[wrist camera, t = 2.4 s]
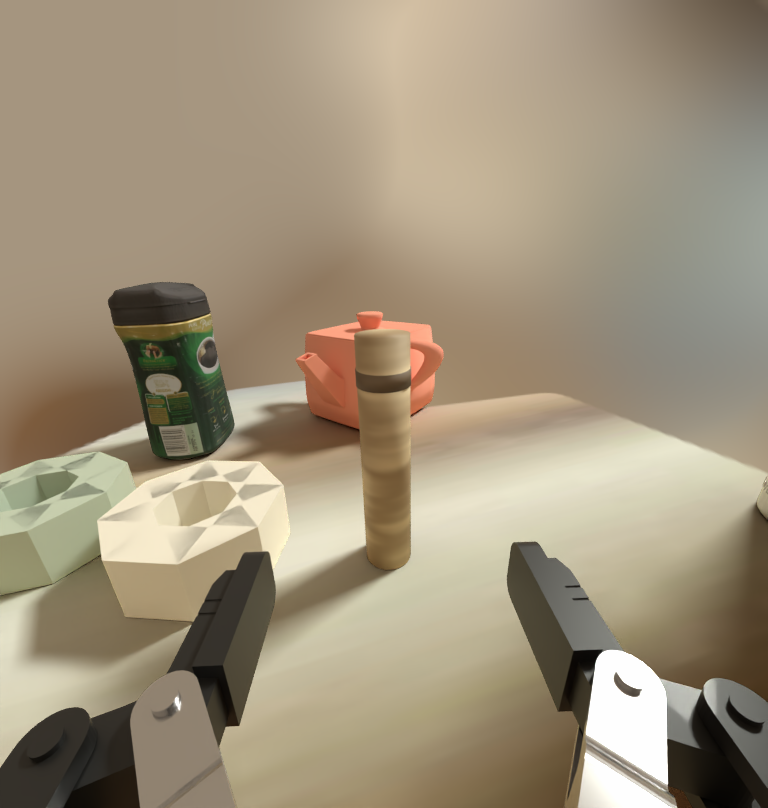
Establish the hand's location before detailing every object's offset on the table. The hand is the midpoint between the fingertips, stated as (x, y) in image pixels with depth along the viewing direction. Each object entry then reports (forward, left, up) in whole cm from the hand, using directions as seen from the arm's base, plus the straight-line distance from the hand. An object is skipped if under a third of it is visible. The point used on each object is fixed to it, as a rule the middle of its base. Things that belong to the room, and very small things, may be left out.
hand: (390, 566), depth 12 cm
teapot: (+31, -21, -11) cm, 39 cm away
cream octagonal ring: (+18, +3, -10) cm, 21 cm away
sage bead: (+28, +12, -10) cm, 32 cm away
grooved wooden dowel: (+9, -7, -10) cm, 15 cm away
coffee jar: (+38, -1, -11) cm, 39 cm away
